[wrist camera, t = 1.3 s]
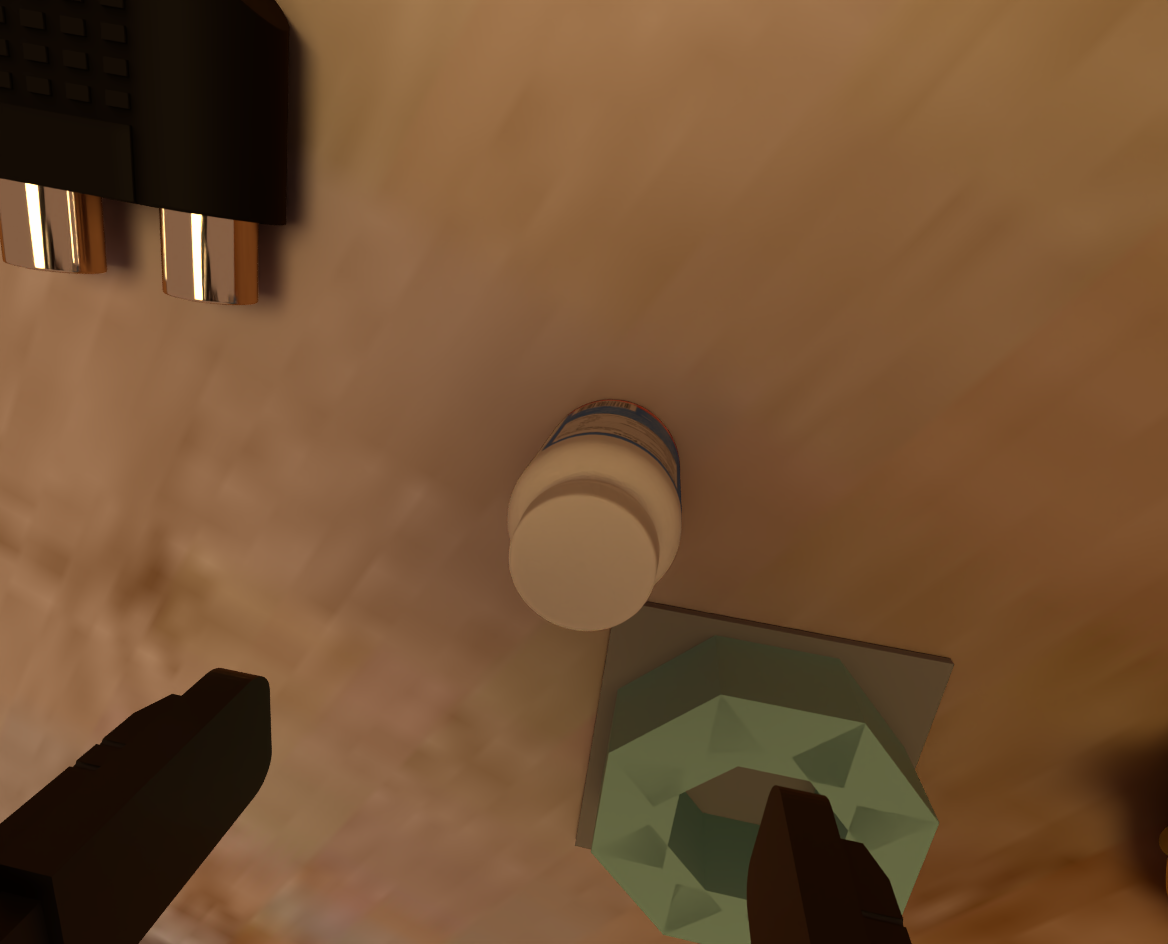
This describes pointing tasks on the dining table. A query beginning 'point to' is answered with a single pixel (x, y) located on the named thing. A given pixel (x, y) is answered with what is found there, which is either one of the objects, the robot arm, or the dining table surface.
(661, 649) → the felt mat
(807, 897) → the robot arm
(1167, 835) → the teapot
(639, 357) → the dining table surface
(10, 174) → the audio adapter
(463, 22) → the dining table surface
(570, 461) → the pill bottle
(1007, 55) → the dining table surface
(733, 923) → the green faceted planter
